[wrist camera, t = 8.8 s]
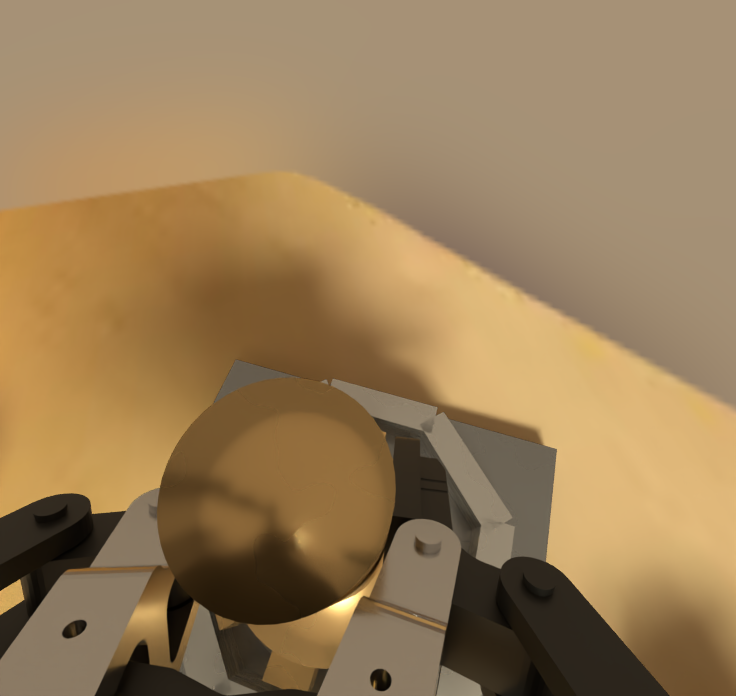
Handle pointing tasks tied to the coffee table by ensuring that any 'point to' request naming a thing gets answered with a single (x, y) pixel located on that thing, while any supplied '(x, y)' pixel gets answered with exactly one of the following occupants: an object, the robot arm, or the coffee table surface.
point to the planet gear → (280, 517)
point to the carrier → (468, 513)
